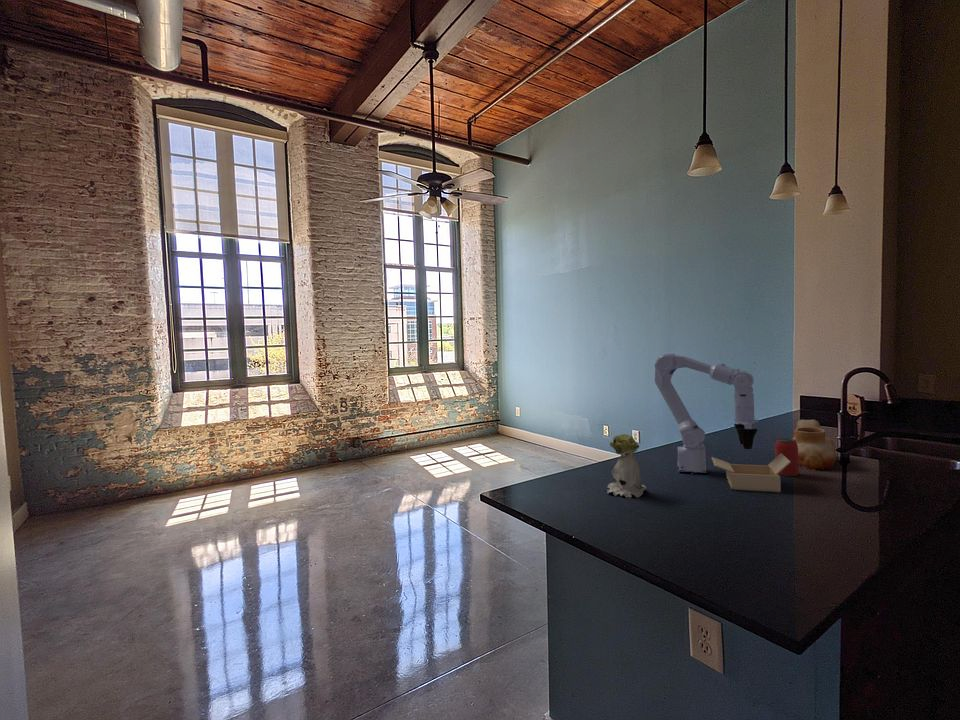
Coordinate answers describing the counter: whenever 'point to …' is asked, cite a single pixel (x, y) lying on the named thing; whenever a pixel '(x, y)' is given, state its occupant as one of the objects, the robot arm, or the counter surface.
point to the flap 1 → (722, 464)
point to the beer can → (788, 455)
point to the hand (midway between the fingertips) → (745, 446)
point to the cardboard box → (753, 478)
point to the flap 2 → (779, 463)
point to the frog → (626, 468)
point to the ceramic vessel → (813, 445)
